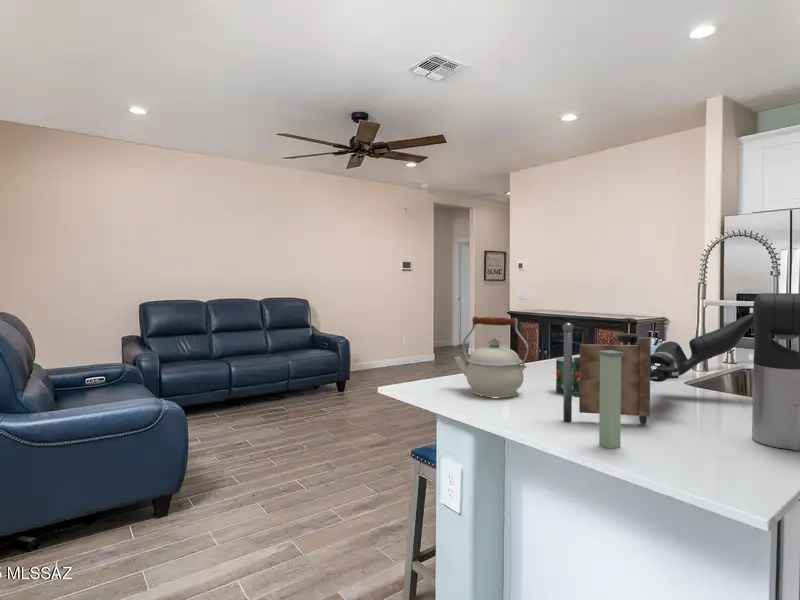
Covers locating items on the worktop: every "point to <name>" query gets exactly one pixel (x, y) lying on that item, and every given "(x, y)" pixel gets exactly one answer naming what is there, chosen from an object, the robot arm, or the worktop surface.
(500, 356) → the kettle
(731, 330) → the robot arm
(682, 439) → the worktop surface
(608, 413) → the post
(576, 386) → the canned tomato
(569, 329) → the hinge post
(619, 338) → the french press
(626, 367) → the gate
